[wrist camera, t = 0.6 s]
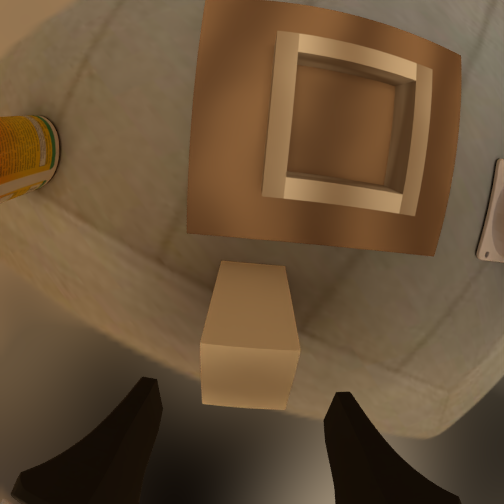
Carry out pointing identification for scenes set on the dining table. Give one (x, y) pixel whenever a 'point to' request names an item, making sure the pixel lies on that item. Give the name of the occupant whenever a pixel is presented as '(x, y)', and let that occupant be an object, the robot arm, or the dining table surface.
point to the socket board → (320, 129)
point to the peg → (249, 338)
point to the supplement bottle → (26, 154)
